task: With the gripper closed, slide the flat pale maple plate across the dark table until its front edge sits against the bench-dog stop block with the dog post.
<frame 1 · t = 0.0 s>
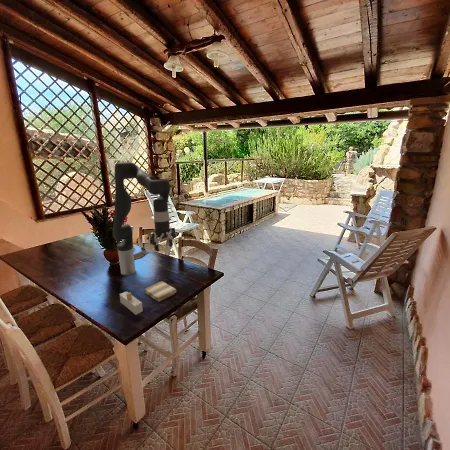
hand: (164, 248, 132), 29 cm above the table, fingers open, 8 cm apart
maple plate: (160, 293, 145), on the table
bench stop: (131, 306, 132), on the table
wooden fragment: (134, 258, 193), on the table
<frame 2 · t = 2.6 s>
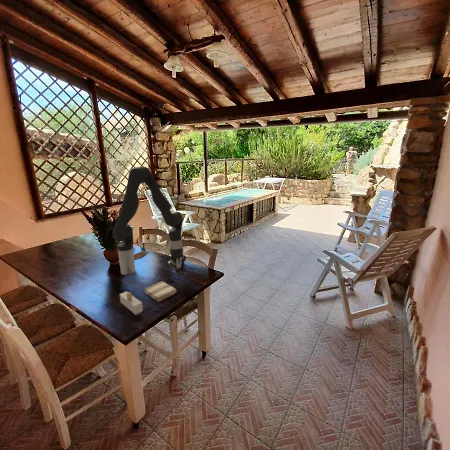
hand: (178, 273, 152), 8 cm above the table, fingers closed
nothing on the table moved.
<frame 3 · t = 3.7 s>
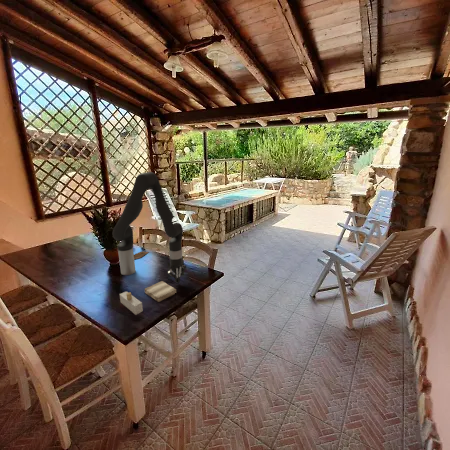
hand: (177, 282, 153), 1 cm above the table, fingers closed
nothing on the table moved.
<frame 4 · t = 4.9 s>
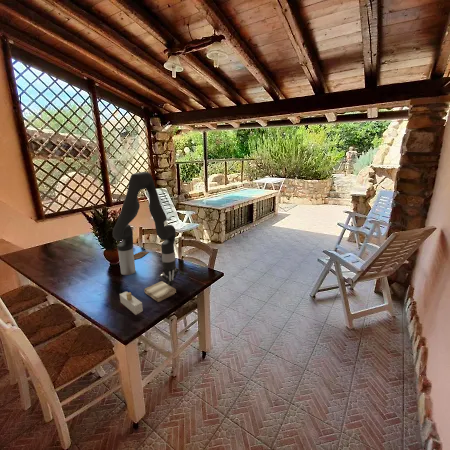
hand: (170, 285, 150), 1 cm above the table, fingers closed
maple plate: (160, 293, 145), on the table, touching gripper
everything else where it was.
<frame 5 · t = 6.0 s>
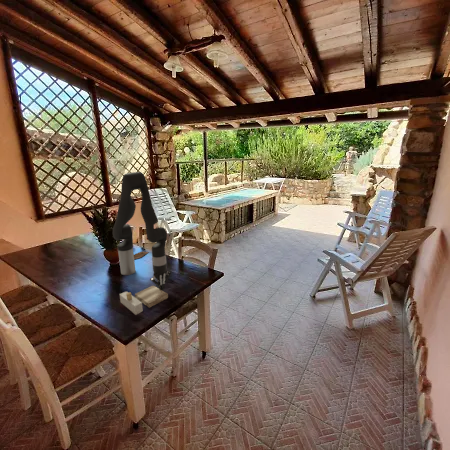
hand: (161, 289, 145), 2 cm above the table, fingers closed
maple plate: (151, 298, 140), on the table
everything else where it was.
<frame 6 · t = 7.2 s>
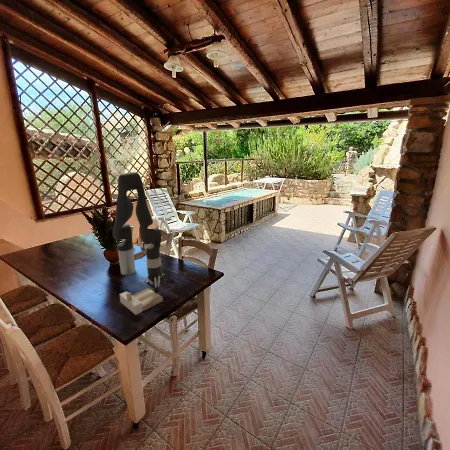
hand: (156, 292, 143), 2 cm above the table, fingers closed
maple plate: (146, 301, 138), on the table
everything else where it was.
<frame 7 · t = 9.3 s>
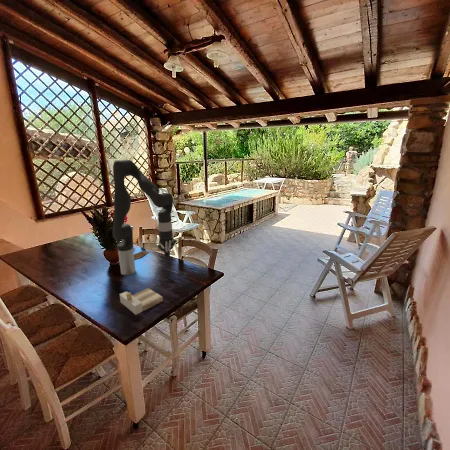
hand: (167, 257, 146), 19 cm above the table, fingers closed
nothing on the table moved.
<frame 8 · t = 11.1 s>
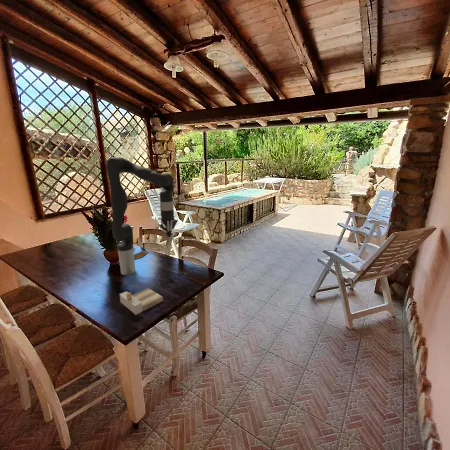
hand: (169, 236, 152), 29 cm above the table, fingers closed
nothing on the table moved.
at the end: maple plate 0.9 cm from the target spot, on the table; maple plate moved 9.9 cm from its start; maple plate tilted 0° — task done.
